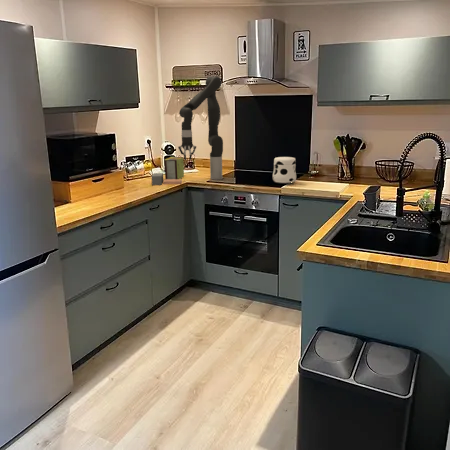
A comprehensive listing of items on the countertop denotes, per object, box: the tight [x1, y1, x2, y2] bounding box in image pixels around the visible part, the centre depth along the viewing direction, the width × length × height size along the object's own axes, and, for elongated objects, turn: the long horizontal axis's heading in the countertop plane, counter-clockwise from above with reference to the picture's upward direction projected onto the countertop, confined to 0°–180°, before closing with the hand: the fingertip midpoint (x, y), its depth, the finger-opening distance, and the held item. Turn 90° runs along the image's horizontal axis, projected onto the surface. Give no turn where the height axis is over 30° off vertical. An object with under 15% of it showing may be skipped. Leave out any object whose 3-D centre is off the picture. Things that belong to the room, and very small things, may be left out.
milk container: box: [272, 156, 297, 185], centre depth 329 cm, size 17×17×18 cm
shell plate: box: [162, 178, 183, 185], centre depth 337 cm, size 13×8×2 cm, turn 89°
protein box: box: [163, 156, 185, 180], centre depth 355 cm, size 10×15×16 cm
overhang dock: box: [150, 172, 165, 186], centre depth 337 cm, size 7×12×6 cm, turn 0°
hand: (187, 159), depth 333 cm, fingers open, 3 cm apart
